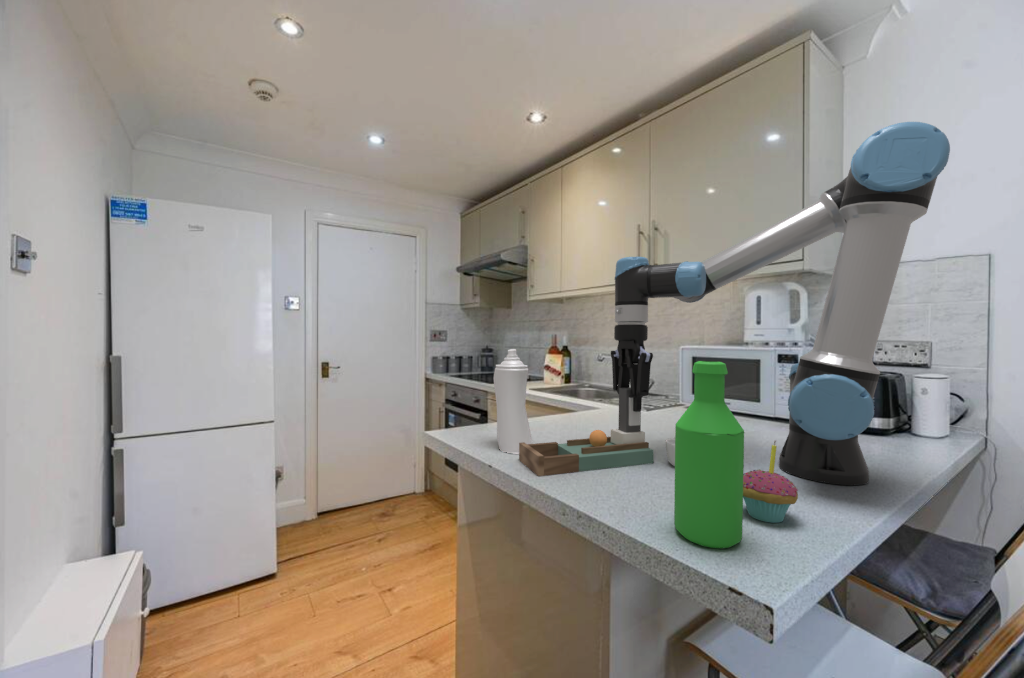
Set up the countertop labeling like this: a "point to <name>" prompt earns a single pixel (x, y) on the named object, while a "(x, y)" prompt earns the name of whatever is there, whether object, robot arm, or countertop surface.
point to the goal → (547, 459)
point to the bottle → (709, 464)
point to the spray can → (511, 403)
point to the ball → (598, 438)
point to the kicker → (626, 423)
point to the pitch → (607, 457)
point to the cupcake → (768, 493)
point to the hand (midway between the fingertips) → (629, 423)
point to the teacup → (670, 450)
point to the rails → (606, 448)
